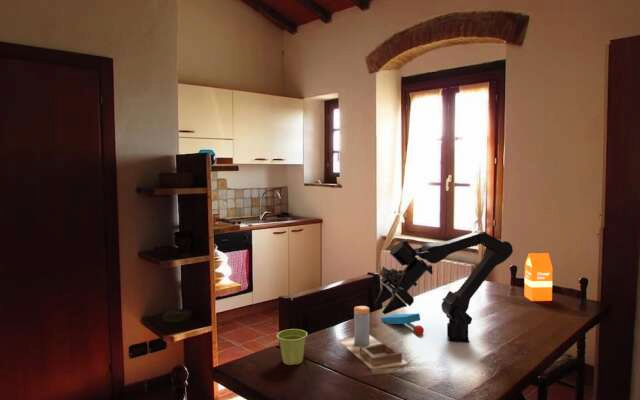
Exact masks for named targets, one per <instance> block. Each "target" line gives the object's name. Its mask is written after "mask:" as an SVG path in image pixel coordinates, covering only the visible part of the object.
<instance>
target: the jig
mask: <svg viewBox="0 0 640 400" xmlns="http://www.w3.org/2000/svg"><path fill="white" fill-rule="evenodd" d="M369 336H370V344H369V345H368V346H364V347H361V346H356V345H355V344H354V336H353V337H346V338H340V339H337V341H338V342H340V343H341V344H342V345H343V346H344V347H345V348H346V349H348V350H349V352H351V353H352V354H353V355H355V357H357V358H358V359H359V360H360V361H361V362H363V363H364V364H365V365H366V366H367V367H368V368H370V369H369V370H368V371H369V372H370V373H371V374H375V373H380V372H386V371H391V370H397V369H404V366H402V365H407V364H409V362H407V360H405V359H404V358H402V357H403V354H402V352H400V351H399V350H398V349H396V348H395V347H393V346H392V345H390V344H389V343H388V342H385V343H382V342H380V341H379V340H377V339H376V338H375V337H374V336H373V335H371V334H369ZM397 366H398V367H397ZM407 367H409V366H407Z"/></svg>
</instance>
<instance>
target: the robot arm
mask: <svg viewBox="0 0 640 400" xmlns="http://www.w3.org/2000/svg"><path fill="white" fill-rule="evenodd" d="M478 245H481V246H483V247H484V248H485V249H484V253H483V258H482V259H481V260H480V262H479V263H478V264H477V266H476V267H475V268H474V270H473V271H472V272H471V273H470V274H469V276H468V277H467V278H466V279H465V280H464V282H463V283H462V285H461V286H460V287H459V289H458V290H456V291H454V292H453V291H451V290H449V291H448V292H447V294H446V296H445V297H444V298H442V303H441V305H440V306H441V311H442V312H443V313H444V314H445V316H446V318H448V323H447V325H446V327H447V328H446V331H447V333H446V337H447V338H448V341H449V342H463V343H470V342H469V341H470V338H469V325H471V324H472V320H473V317H472V316H471V315H470V314H468V313H467V311H468V309H469V305H470V300H471V299H472V298H473V297H474V295H475V294H476V292H477V291H478V290H479V288H480V287H481V286H482V285H483V283H484V282H485V280H486V279H487V278H488V277H489V275H491V273H492V272H493V270H494V269H495V267H497V266H499V265H500V264H503V263H504V262H505V261H507V259H509V258H510V257H511V256H512V254H513V253H514V251H513V250H514V249H513V246H512V244H511V242H509V241H506V240H503V239H499V238H496V237H494V236H492V235H490V234H488V233H487V232H486V231H482V230H475V231H473V232H471V233H467V234H465V235H461V236H459V237H455V238H453V239H449V240H446V241H441V242H439V241H438V242H429V243H424V244H423V245H421V247H416V248H413V247H412V246H411V245H410V244H409V242H408V241H407V240H406V239H402V240H401V241H399V242H398V243H396V244H395V245H393V246H392V248H391V249H390V252H389V255H391V257H393V259H395V260H396V262H397V263H398V264H399V265H401V266H406V267H405V268H404V269H399V270H397V269H394V267H393V268H388V267H386V266H382V268H381V271H380V272H379V276H381V277H382V278H381V279H380V283H379V284H380V288H381V289H380V290H379V291H380V292H379V294H378V295H377V298H376V299H375V301H374V305H375V306H376V307H378V306H380V305H381V304H383V303H385V302H387V301H388V300H389V299H390V300H389V302H388V303H387V304H386V305H385V307H384V308H383V310H382V314H384V315H386V314H389V313H392V312H394V311H397V310H399V309H402V308H404V307H405V308H407V307H411V306H412V305H413V304H414V299H415V298H414V297H413V296H412V295H411V294H410V293H409V291H410V289H411V288H412V287H413V286H414V287H416V286H417V285H418V283H417V282H418V281H419V280H420V279H421V278H422V276H423V275H424V274H425V273H426V272H427V273H428V274H430V275H433V274H434V273H433V265H431V264H438V263H440V262H441V261H443V260H445V259H446V258H447V257H448V256H450V255H451V254H455V253H457V252H460V251H464V250H465V249H470V248H473V247H475V246H478ZM417 257H418V258H419V259H418V258H417ZM424 260H425V261H426V262H428V263H430V264H427V263H426V262H425V261H424Z"/></svg>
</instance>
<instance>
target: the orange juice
mask: <svg viewBox="0 0 640 400" xmlns="http://www.w3.org/2000/svg"><path fill="white" fill-rule="evenodd" d="M551 261H552V260H551V259H550V254H549V252H547V253H546V252H543V253H542V252H541V253H538V252H537V253H531V252H530V253H528V255H527V258H526V260H525V263H524V297H525V298H527V299H528V300H530V301H531V302H545V301H546V302H547V301H549V302H550V301H553V265H552V262H551Z"/></svg>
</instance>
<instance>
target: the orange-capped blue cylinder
mask: <svg viewBox="0 0 640 400" xmlns="http://www.w3.org/2000/svg"><path fill="white" fill-rule="evenodd" d="M353 320H354V321H353V331H354V332H353V334H354V335H353V337H354V344H355V345H356V346H361V347H364V346H368V345H369V344H370V336H369V335H370V307H369V306H366V305H358V306H357V305H356V306H355V307H354V308H353Z"/></svg>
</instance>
